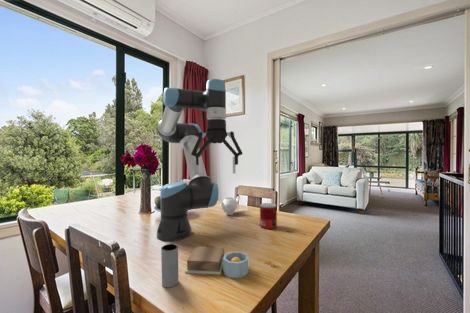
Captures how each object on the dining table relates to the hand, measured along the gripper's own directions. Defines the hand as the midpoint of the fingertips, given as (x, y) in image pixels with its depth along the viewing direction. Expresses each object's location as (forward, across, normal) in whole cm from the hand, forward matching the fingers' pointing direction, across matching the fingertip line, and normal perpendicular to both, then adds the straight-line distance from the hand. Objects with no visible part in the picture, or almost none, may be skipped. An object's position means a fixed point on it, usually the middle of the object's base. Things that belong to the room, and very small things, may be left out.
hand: (217, 173), depth 87 cm
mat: (+29, -1, -16) cm, 33 cm away
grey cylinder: (+29, -9, -26) cm, 40 cm away
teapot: (+29, -1, +46) cm, 54 cm away
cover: (+28, -1, -16) cm, 32 cm away
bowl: (+29, +9, -19) cm, 36 cm away
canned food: (+29, +21, +23) cm, 42 cm away
